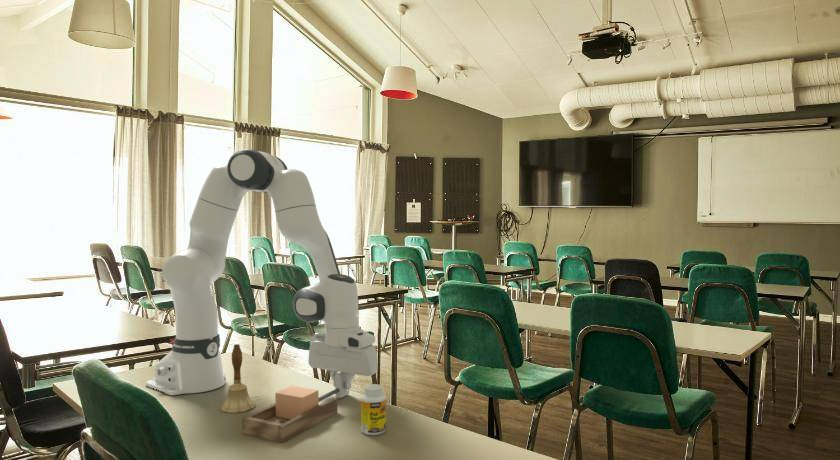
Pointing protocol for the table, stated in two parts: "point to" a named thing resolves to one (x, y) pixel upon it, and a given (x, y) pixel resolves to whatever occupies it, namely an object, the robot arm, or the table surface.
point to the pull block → (305, 398)
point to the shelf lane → (285, 421)
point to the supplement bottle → (373, 410)
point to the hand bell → (237, 388)
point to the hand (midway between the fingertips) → (342, 387)
